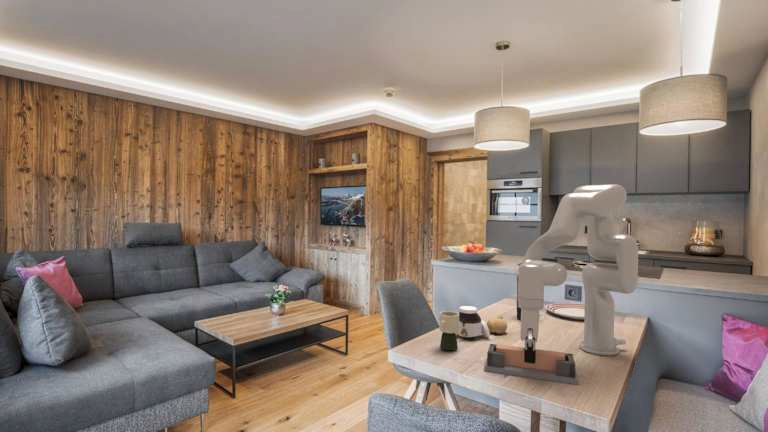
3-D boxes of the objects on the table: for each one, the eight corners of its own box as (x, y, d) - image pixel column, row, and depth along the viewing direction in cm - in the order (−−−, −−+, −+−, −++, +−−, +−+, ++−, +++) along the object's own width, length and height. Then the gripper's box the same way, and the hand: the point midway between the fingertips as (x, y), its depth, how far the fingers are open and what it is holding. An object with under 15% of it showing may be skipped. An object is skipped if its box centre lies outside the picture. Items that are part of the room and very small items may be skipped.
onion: (499, 337, 157) (499, 319, 157) (482, 332, 163) (483, 315, 163) (510, 333, 162) (511, 316, 162) (494, 328, 168) (494, 312, 168)
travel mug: (535, 318, 184) (536, 275, 184) (531, 322, 178) (532, 278, 178) (518, 316, 188) (519, 274, 188) (514, 319, 182) (515, 276, 182)
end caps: (487, 365, 124) (487, 352, 124) (490, 355, 133) (490, 343, 133) (575, 378, 116) (575, 364, 116) (572, 366, 124) (572, 354, 124)
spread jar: (451, 335, 158) (452, 306, 158) (470, 330, 165) (470, 302, 165) (475, 344, 149) (475, 313, 149) (494, 338, 156) (494, 308, 155)
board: (484, 370, 124) (484, 366, 124) (487, 358, 134) (488, 354, 134) (578, 384, 114) (578, 379, 114) (574, 370, 125) (574, 365, 125)
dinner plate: (548, 320, 183) (548, 313, 183) (543, 306, 209) (543, 300, 209) (615, 325, 175) (615, 318, 175) (601, 310, 201) (601, 304, 201)
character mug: (447, 343, 149) (448, 308, 149) (464, 347, 145) (465, 312, 145) (432, 351, 141) (432, 314, 141) (450, 355, 136) (450, 318, 136)
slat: (495, 363, 126) (496, 347, 126) (496, 359, 129) (497, 344, 129) (564, 373, 119) (565, 356, 119) (563, 368, 122) (564, 352, 122)
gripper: (518, 296, 133) (518, 346, 134) (517, 308, 117) (516, 365, 117) (542, 298, 131) (542, 349, 131) (544, 310, 114) (543, 369, 115)
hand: (529, 357), depth 124 cm, fingers open, 9 cm apart
